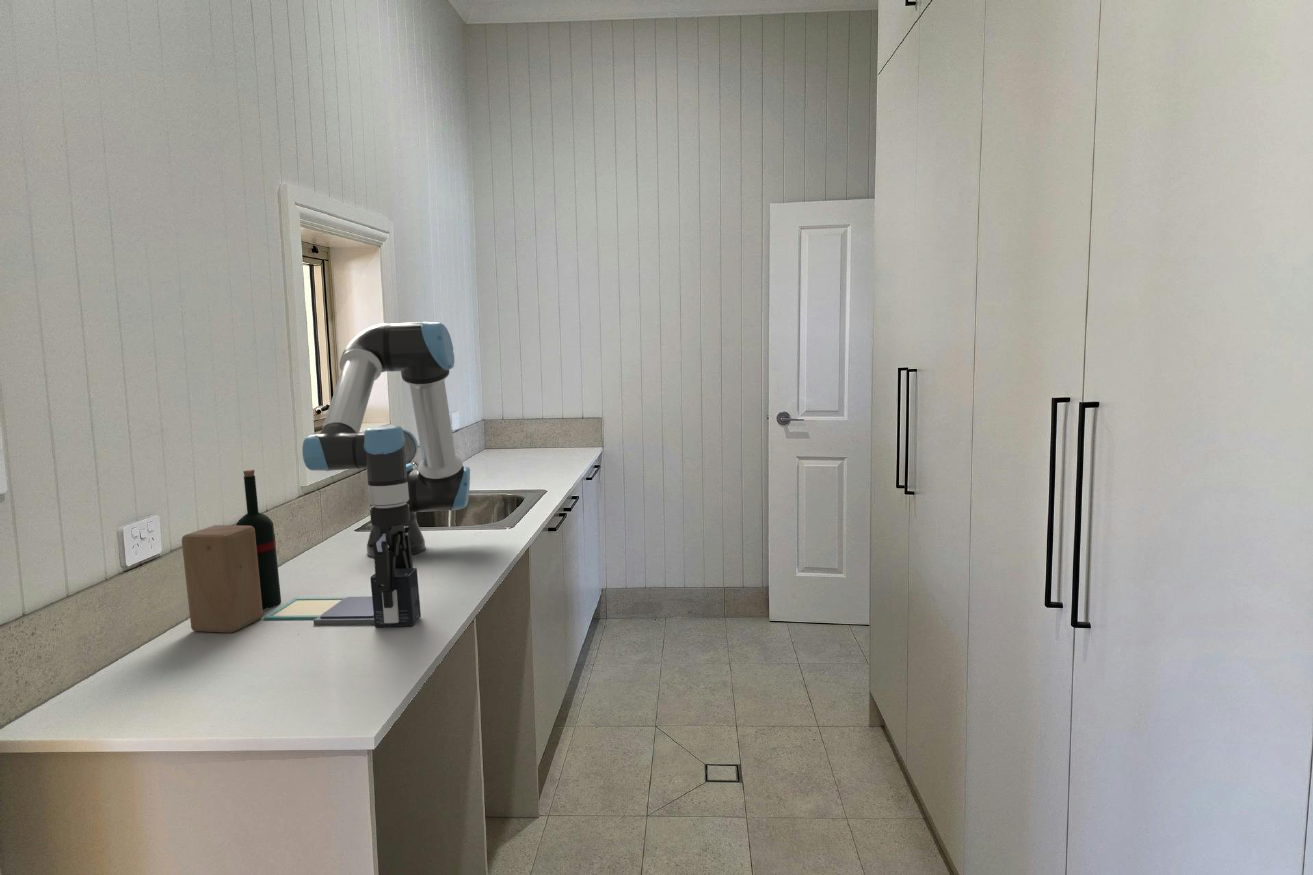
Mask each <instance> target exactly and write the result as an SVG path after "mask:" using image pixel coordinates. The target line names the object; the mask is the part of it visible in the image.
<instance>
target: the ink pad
mask: <svg viewBox="0 0 1313 875" xmlns="http://www.w3.org/2000/svg"><path fill="white" fill-rule="evenodd" d="M324 625H325V626H327V625H328V626H335V625H336V626H337V625H340V626H342V625H345V626H346V625H375V622H374V611H373V601H372V595H371V596H370V595H369V596H346V597H345V598H344V599H343V600H341V601H340V602H338V603H337V604H336V605H334V606H333V607H331V608H330V609H328V610H327V611H326V612H324V613H323V614H321V615H320V616H319V617H317V618H316V619H313V626H324Z"/></svg>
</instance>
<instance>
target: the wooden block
mask: <svg viewBox="0 0 1313 875" xmlns="http://www.w3.org/2000/svg"><path fill="white" fill-rule="evenodd" d="M181 548H182V555H183V556H182V557H183V564H184V574H185V582H186V584H185V585H186V592H187V602H188V612H189V620H190V629H192V630H191V631H193V632H203V633H204V632H205V633H209V632H211V633H231V634H233V633H235V632H237V631H239V630H240V629H242V628H245V627H246V626H248V625H250V624H252V623H254V622H256V621H258V620H260V619H262V618H263V615H264V612H263V611H264V610H263V609H262V599H261V588H260V578H259V568H258V558H257V547H256V537H255V529H254V527H252V526H242V525H236V524H235V525H232V524H231V525H227V524H226V525H224V524H222V525H221V524H219V525H218V524H215V525H212V526H208V527H205V528H203V529H199V530H196V531H193V532H190V533H186V534H184V535H183V536H182V538H181Z"/></svg>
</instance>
